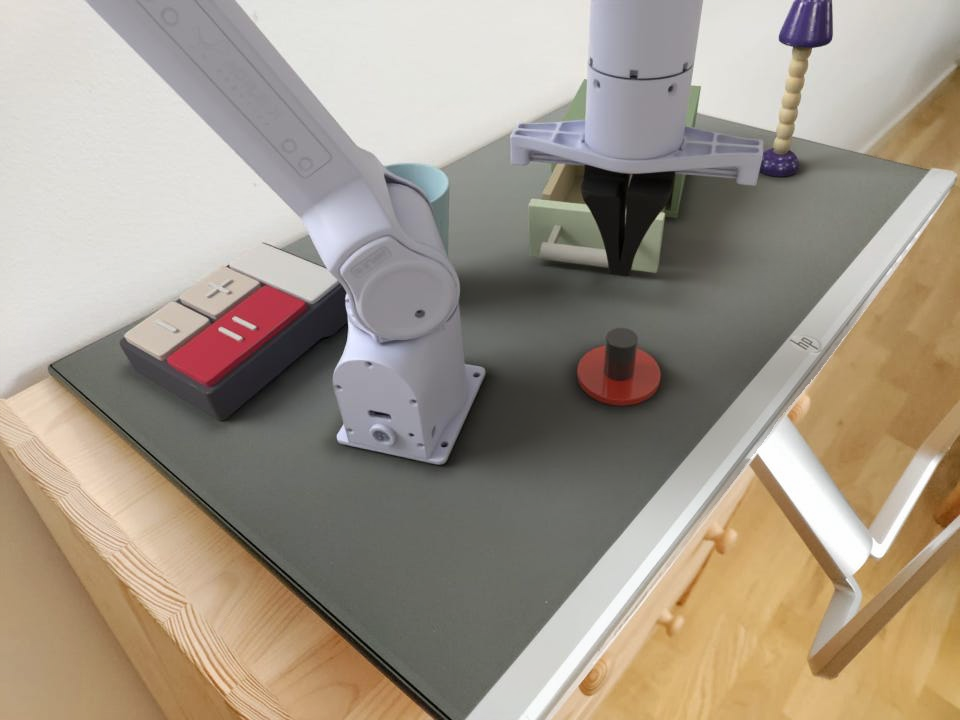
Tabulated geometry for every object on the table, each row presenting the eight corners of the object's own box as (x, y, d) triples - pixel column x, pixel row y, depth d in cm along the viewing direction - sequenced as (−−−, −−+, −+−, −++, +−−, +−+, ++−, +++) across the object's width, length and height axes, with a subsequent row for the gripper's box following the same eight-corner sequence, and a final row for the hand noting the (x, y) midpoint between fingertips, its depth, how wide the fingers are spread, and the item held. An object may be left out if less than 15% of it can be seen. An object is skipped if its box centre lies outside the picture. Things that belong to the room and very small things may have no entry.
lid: (654, 412, 49) (660, 372, 47) (569, 397, 51) (570, 358, 48) (664, 357, 53) (670, 317, 51) (586, 344, 55) (588, 305, 52)
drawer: (649, 303, 57) (656, 248, 54) (515, 284, 60) (514, 231, 56) (675, 191, 70) (682, 141, 67) (564, 180, 73) (565, 132, 70)
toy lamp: (742, 167, 75) (777, -5, 64) (766, 151, 77) (804, -17, 66) (784, 181, 72) (828, 4, 61) (808, 165, 74) (855, -8, 63)
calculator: (111, 334, 53) (258, 233, 62) (135, 374, 56) (273, 272, 65) (204, 388, 48) (351, 269, 57) (225, 428, 51) (362, 310, 60)
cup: (389, 264, 65) (371, 158, 58) (469, 273, 63) (461, 165, 56) (357, 315, 59) (333, 205, 52) (444, 326, 58) (432, 214, 51)
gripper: (780, 41, 40) (735, 247, 49) (528, 32, 43) (530, 225, 52) (781, 89, 35) (731, 308, 44) (497, 74, 38) (505, 279, 47)
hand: (621, 267), depth 48 cm, fingers closed
